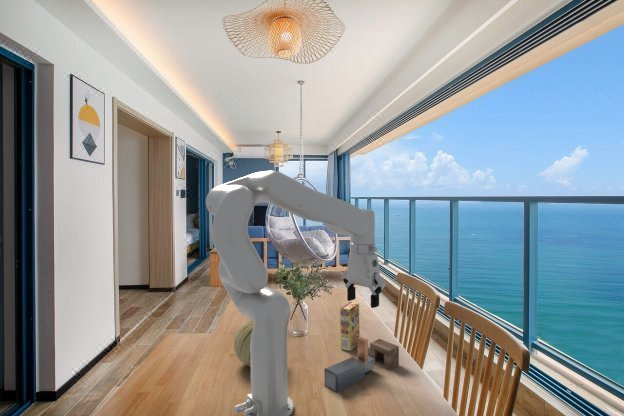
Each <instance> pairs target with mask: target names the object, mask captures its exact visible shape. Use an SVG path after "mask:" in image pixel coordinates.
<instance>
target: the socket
mask: <svg viewBox="0 0 624 416" xmlns="http://www.w3.org/2000/svg"><path fill="white" fill-rule="evenodd" d="M399 347H400V346H399V345H397V344H393V343H391V342H388V341H387V340H383V339H376V340H374V341H371V342H369V356H370V357H372V358H374V359H375V365H378V366H379V367H381V366H382V367H381V368H384V369H385V370H388V371H390V370H393V369H394V368H396V367H398V366H399V364H400V363H399V361H400V360H399V356H400V355H399V353H400V352H399V351H400V350H399ZM397 365H398V366H397Z"/></svg>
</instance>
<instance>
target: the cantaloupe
mask: <svg viewBox="0 0 624 416" xmlns="http://www.w3.org/2000/svg"><path fill="white" fill-rule="evenodd" d="M253 327H254V323H253V321H252V320H250V321H248V322H246V323H244V325H242V326H241V327H240V328H239V329H238V331H237V332H236V334H235V335H234V336H235V337H234V341H233V350H234V352H235V355H236V358H237V359H238V360H239V361H240V362H242V363H243V365H245V366H248V367H250V368H251V356H250V341H251V335H252V332H253Z"/></svg>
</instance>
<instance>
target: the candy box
mask: <svg viewBox="0 0 624 416" xmlns="http://www.w3.org/2000/svg"><path fill="white" fill-rule="evenodd" d="M339 310H340V311H339V312H340V313H339V314H340V316H339V317H340V323H339V324H340V350H344V351H348V352H351V351H352V350H353V349H354V348H355V347H357V346H358V338H359V337H361V335H360V334H361V333H360V303H359V302H354V301H353V302H352V301H348V303H347V304H345V305H344V306H341V307H340V309H339Z"/></svg>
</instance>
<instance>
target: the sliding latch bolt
mask: <svg viewBox="0 0 624 416" xmlns="http://www.w3.org/2000/svg"><path fill="white" fill-rule="evenodd" d="M357 359H358V360H360V361H363V362H365V373H367V372H369V371H372V370H373V369H375V368H376V364H375V359H374V358H372V357H370V355H369V339H367V338H365V337H362V336H360V337H359V338H358V344H357Z"/></svg>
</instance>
